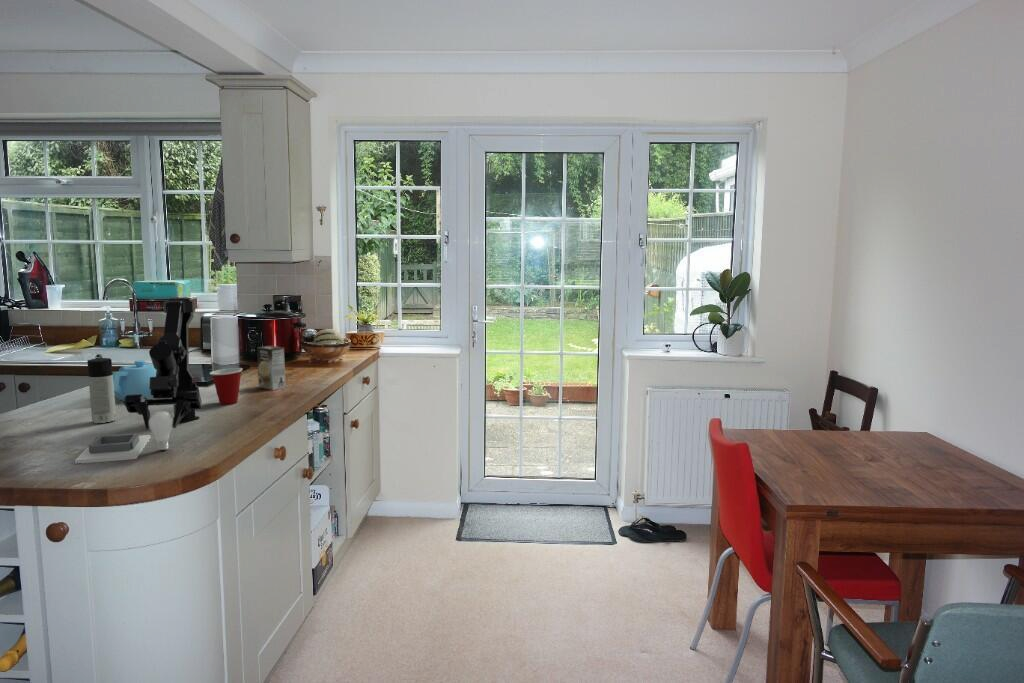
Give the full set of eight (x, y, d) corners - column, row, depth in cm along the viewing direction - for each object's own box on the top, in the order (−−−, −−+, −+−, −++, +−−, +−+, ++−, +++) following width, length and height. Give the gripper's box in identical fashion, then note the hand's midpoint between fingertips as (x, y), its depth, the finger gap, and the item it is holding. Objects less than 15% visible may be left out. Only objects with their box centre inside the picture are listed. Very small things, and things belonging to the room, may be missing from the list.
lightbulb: (165, 454, 183) (162, 414, 181) (144, 452, 184) (142, 413, 183) (181, 447, 189) (178, 409, 188) (161, 446, 190) (158, 407, 189)
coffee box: (257, 387, 268) (255, 347, 265) (271, 384, 273) (269, 345, 271) (273, 390, 263) (271, 349, 260) (286, 387, 268) (284, 347, 266)
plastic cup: (217, 399, 247) (215, 367, 245) (248, 399, 247) (246, 366, 246) (206, 406, 236) (204, 372, 234) (238, 406, 237) (237, 372, 235)
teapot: (108, 404, 238) (105, 366, 236) (118, 393, 255) (116, 357, 253) (169, 401, 244) (166, 363, 242) (175, 390, 262) (173, 355, 260)
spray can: (121, 419, 218) (116, 358, 215) (102, 425, 212) (97, 361, 209) (106, 417, 220) (101, 357, 217) (86, 423, 214) (81, 360, 211)
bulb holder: (95, 442, 194) (94, 432, 193) (150, 438, 198) (149, 428, 197) (75, 463, 175) (74, 452, 174) (136, 459, 179) (135, 447, 179)
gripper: (122, 365, 184) (114, 415, 176) (197, 362, 190) (193, 410, 181) (132, 388, 193) (125, 436, 184) (203, 384, 198) (199, 431, 189)
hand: (160, 428), depth 184 cm, fingers closed on lightbulb, 6 cm apart
